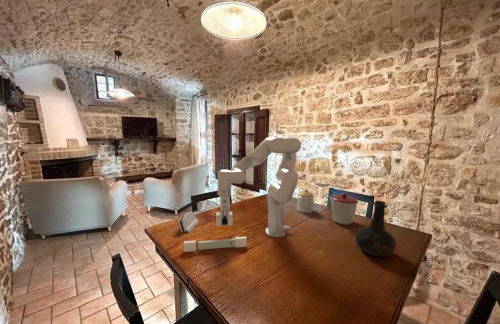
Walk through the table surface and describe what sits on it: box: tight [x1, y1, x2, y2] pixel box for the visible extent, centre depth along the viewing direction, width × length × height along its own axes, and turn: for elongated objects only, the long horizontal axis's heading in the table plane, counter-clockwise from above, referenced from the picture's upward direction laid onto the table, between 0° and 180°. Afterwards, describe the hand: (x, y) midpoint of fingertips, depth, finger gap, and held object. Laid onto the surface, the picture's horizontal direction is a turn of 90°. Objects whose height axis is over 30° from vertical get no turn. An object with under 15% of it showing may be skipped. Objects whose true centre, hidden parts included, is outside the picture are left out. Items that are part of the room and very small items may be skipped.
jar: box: [296, 188, 315, 214], centre depth 163 cm, size 13×13×18 cm
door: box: [196, 238, 235, 251], centre depth 108 cm, size 20×2×5 cm, turn 100°
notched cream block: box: [183, 236, 248, 253], centre depth 109 cm, size 33×2×5 cm, turn 100°
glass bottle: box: [355, 200, 397, 258], centre depth 106 cm, size 18×18×28 cm
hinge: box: [178, 211, 199, 234], centre depth 133 cm, size 17×5×10 cm, turn 172°
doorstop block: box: [215, 211, 234, 227], centre depth 115 cm, size 9×5×6 cm, turn 100°
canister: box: [330, 192, 360, 226], centre depth 142 cm, size 18×18×21 cm
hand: (224, 222), depth 116 cm, fingers closed on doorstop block, 5 cm apart
